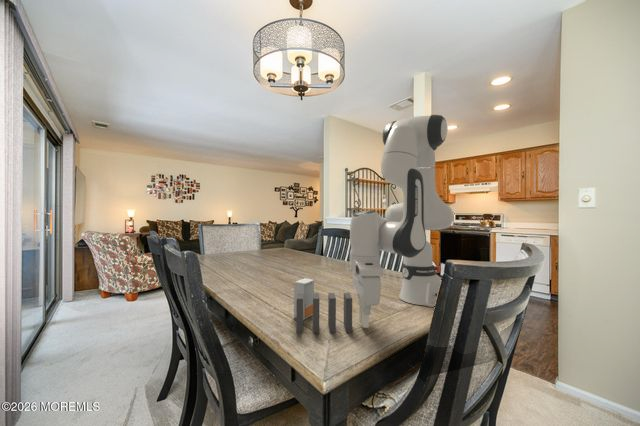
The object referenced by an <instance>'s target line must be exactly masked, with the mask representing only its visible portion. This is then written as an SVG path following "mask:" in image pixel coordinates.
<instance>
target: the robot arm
mask: <svg viewBox="0 0 640 426" xmlns="http://www.w3.org/2000/svg"><path fill="white" fill-rule="evenodd" d="M447 134H448V123H447V121H446V118H445V117H444V116H443V115H440V114H431V115H420V116H419V115H418V116H417V115H416V116H412V117H410V118H409V117H408V118H404V119H399V120H395V121H390V122H388V123H387V124H386V125H385V126H384V128H383V131H382V142H383V145H384V148H383V153H382V157H381V161H380V162H381V163H380V173H381V175H382V177H383V178H384V179H385V180H386V182H388V183H389V184H391V185H394V186H397V187H398V188H400V189H401V190H402V193H403V202H401V203H400V202H399V203H394V204H391V205H389V206H388V207H387V208H386V211H385V214H384V217H382V216H381V215H380V214H379V213H378V211H376V210H374V209H367V210H361V211H356V212H355V213H353V214H352V216H351V219H350V227H349V241H350V251H349V270H350V271H352V286H353V287H354V289H355V290H356V292H357V299H358V300H359V295H360V297H361V298H362V300H363V301H364V307H363V313H364V315H369V316H370V315H371V308H372V307H373V306H374V307H375V306H379V304H380V300H381V292H382V291H381V288H382V287H381V286H382V279H381V277H383V275H384V270H383V267H382V265H381V260H380V251H381V252H386V253H391V254H396V255H399V256H403V258H402V259H403V262H402V266H401V270H402V271H401V273H402V281H401V283H402V284H401V288H400V291H399V296H398V298H399V299H400V300H401V301H403V302H406V303H409V304H413V305H418V306H419V305H420V306H424V307H425V306H427V307H430V308H435V307H434V306H435V302H436V298H437V294H438V290H439V287H440V283H441V281H440V280H441V279H442V278H441V277H440V276H439V275H437V272H441V271H442V267H441V266H438V265H433V263H434V262H433V261H434V260H433V252H434V251H433V245H432V243H430V242H429V241H427V234H426V231H439V230H445V229H446V230H447V229H449V227H450V226H451V225H452V223H453V221H454V212H453V210H452V207H450V206H449V205H448V204H446V203H445V202H444V201H443V200H442V199H441V197H440V195H439V194H438V192H437V189H436V179H435V178H436V153H435V151H436V150H437V149H438V148H439V147H440V146H441V145H442V144H443V143H444V142H445V140H446V138H447Z"/></svg>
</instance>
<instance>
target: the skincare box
mask: <svg viewBox="0 0 640 426" xmlns="http://www.w3.org/2000/svg"><path fill="white" fill-rule="evenodd" d="M293 285H294V289H293V318H295V319H296V314H297V293H303V321H305V320H306V319H308V318H309V317H311V316H312V317H313V293H315V279H311V278H307V277H306V278H305V277H304V278H301V279H298V280H296V281H294V284H293Z"/></svg>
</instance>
